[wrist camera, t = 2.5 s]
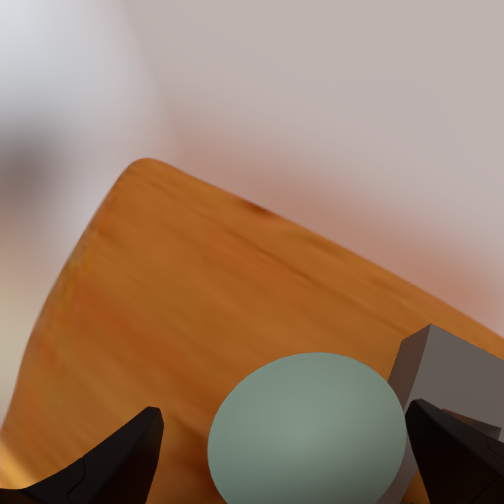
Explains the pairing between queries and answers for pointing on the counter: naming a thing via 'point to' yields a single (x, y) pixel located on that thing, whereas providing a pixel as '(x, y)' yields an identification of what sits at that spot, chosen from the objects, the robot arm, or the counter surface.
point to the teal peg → (307, 434)
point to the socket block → (445, 390)
